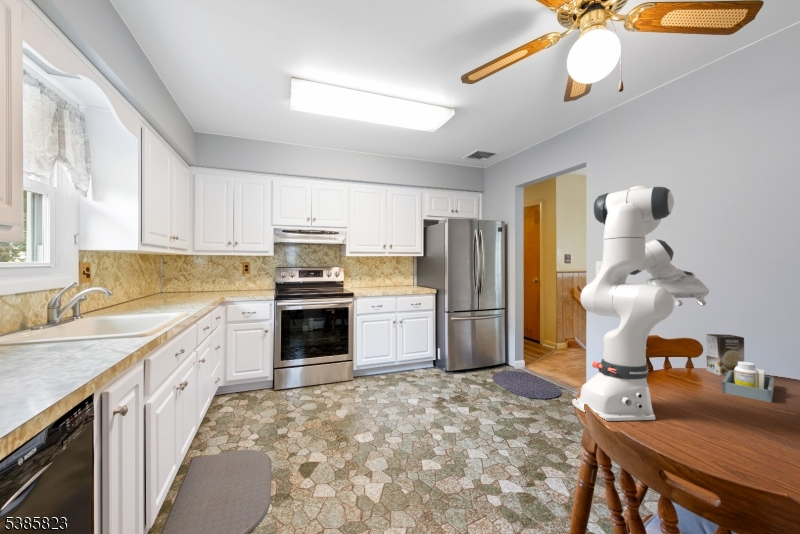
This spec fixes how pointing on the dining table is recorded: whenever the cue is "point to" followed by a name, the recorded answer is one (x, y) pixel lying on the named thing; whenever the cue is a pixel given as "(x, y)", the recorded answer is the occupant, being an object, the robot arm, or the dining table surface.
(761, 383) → the off-white plain cube block
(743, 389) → the tray
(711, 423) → the dining table surface
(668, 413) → the dining table surface
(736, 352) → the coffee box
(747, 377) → the supplement bottle
